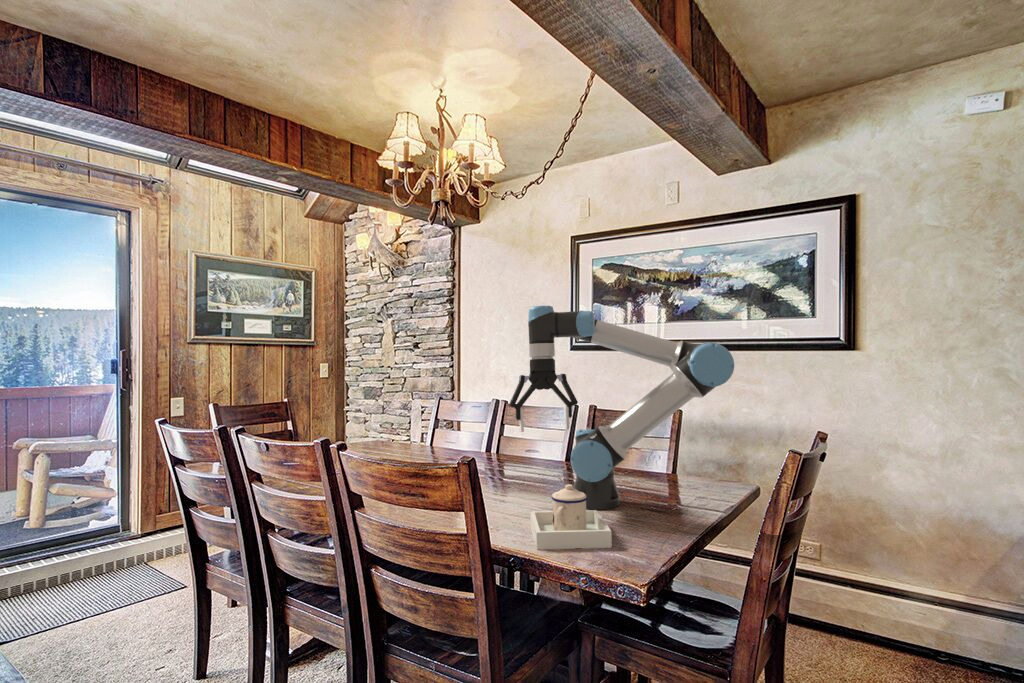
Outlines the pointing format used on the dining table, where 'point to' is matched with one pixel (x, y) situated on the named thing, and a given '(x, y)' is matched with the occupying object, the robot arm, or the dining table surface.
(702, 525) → the dining table surface
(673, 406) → the robot arm
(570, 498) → the teacup with lid
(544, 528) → the tray
